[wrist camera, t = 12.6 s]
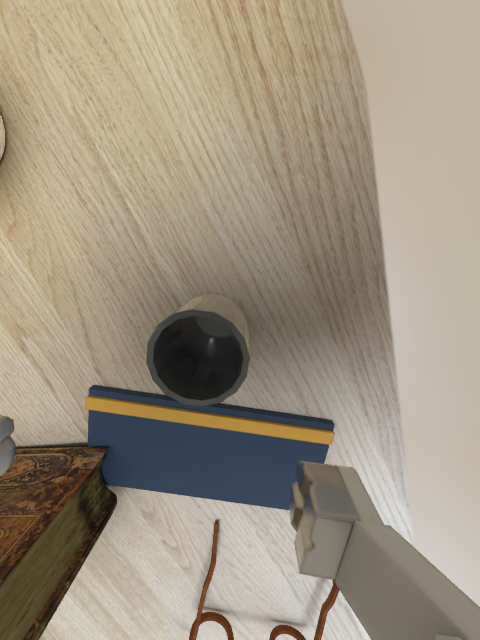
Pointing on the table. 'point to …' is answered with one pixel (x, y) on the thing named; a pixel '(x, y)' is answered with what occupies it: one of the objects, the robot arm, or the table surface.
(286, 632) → the glasses
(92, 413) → the towel
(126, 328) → the table surface
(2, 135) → the cup
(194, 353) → the grey tumbler
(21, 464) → the book
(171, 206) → the table surface
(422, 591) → the robot arm
